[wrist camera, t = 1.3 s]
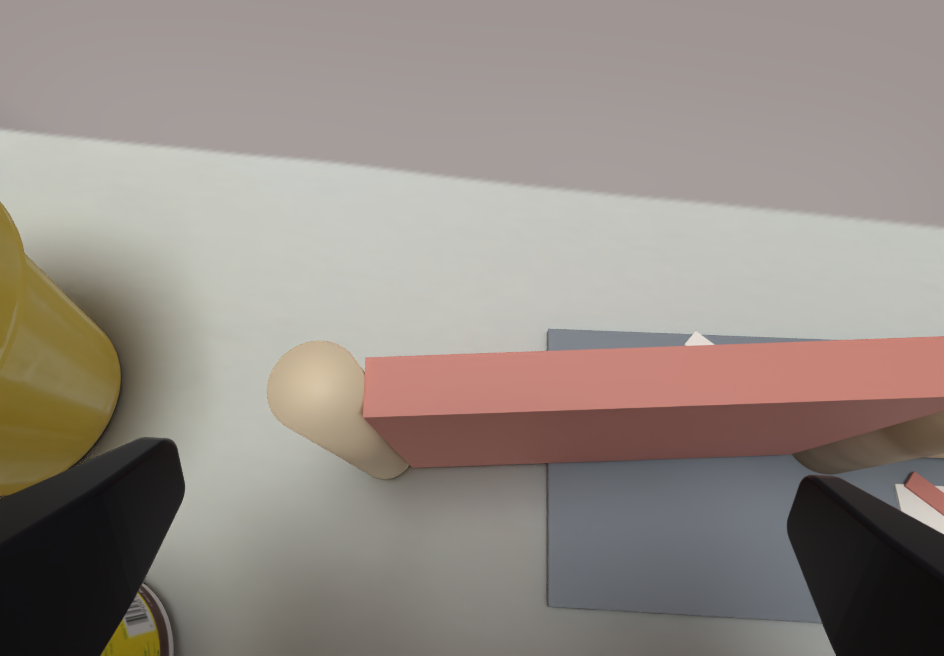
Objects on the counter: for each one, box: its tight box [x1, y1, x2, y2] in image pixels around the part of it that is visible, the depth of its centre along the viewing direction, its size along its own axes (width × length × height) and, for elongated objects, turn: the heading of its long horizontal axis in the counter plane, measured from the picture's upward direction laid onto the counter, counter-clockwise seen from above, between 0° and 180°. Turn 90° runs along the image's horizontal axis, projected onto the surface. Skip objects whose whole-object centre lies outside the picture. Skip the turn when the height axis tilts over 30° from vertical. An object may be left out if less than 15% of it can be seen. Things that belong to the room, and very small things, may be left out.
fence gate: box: [267, 336, 944, 479], centre depth 14 cm, size 14×2×8 cm, turn 92°
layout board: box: [547, 329, 944, 623], centre depth 18 cm, size 21×9×1 cm, turn 87°
